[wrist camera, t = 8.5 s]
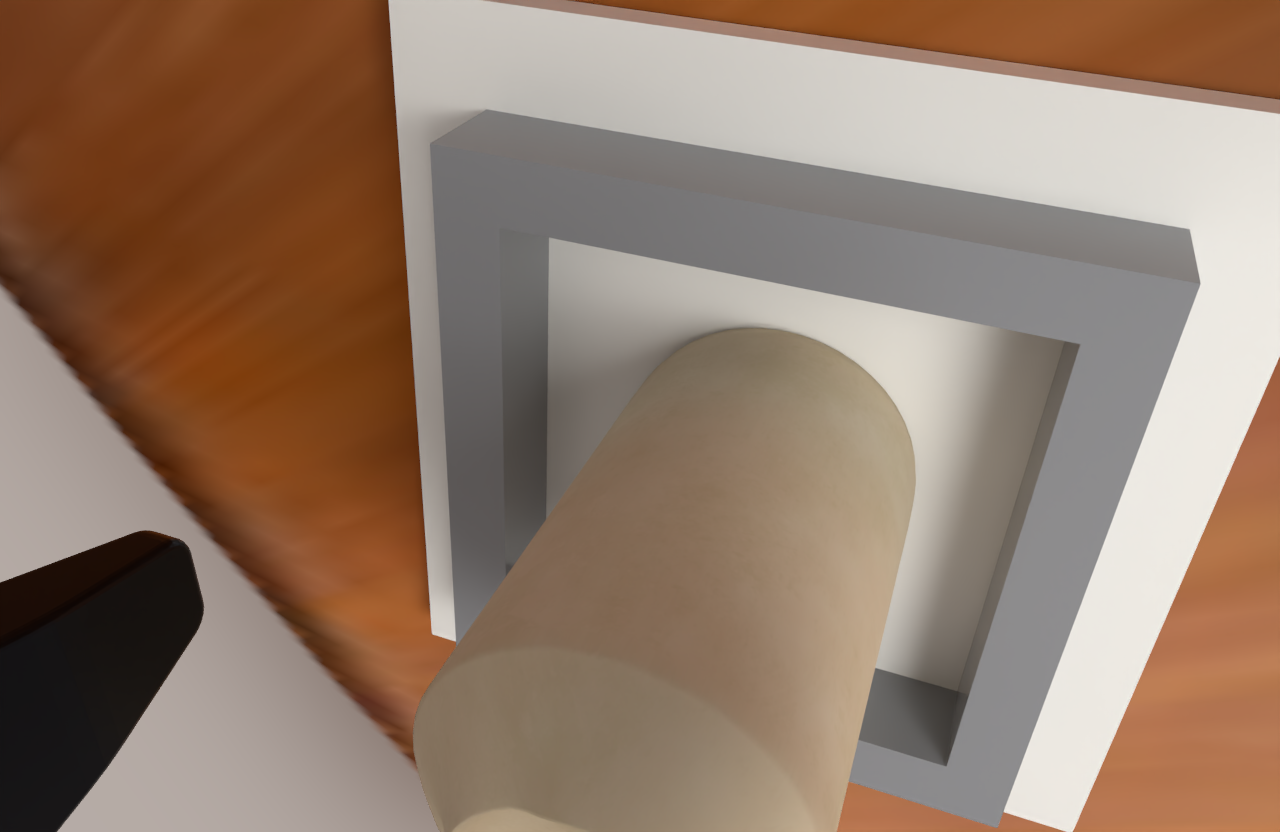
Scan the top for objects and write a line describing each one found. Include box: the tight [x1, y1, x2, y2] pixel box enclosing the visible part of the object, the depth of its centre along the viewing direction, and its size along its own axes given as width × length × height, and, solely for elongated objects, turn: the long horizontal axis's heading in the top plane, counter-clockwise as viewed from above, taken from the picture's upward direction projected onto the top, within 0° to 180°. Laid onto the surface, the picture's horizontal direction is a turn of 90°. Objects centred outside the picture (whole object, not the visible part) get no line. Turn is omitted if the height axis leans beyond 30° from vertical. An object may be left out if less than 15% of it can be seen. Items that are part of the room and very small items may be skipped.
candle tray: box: [388, 0, 1280, 832], centre depth 20 cm, size 15×15×3 cm
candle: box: [413, 328, 916, 832], centre depth 16 cm, size 6×6×10 cm
